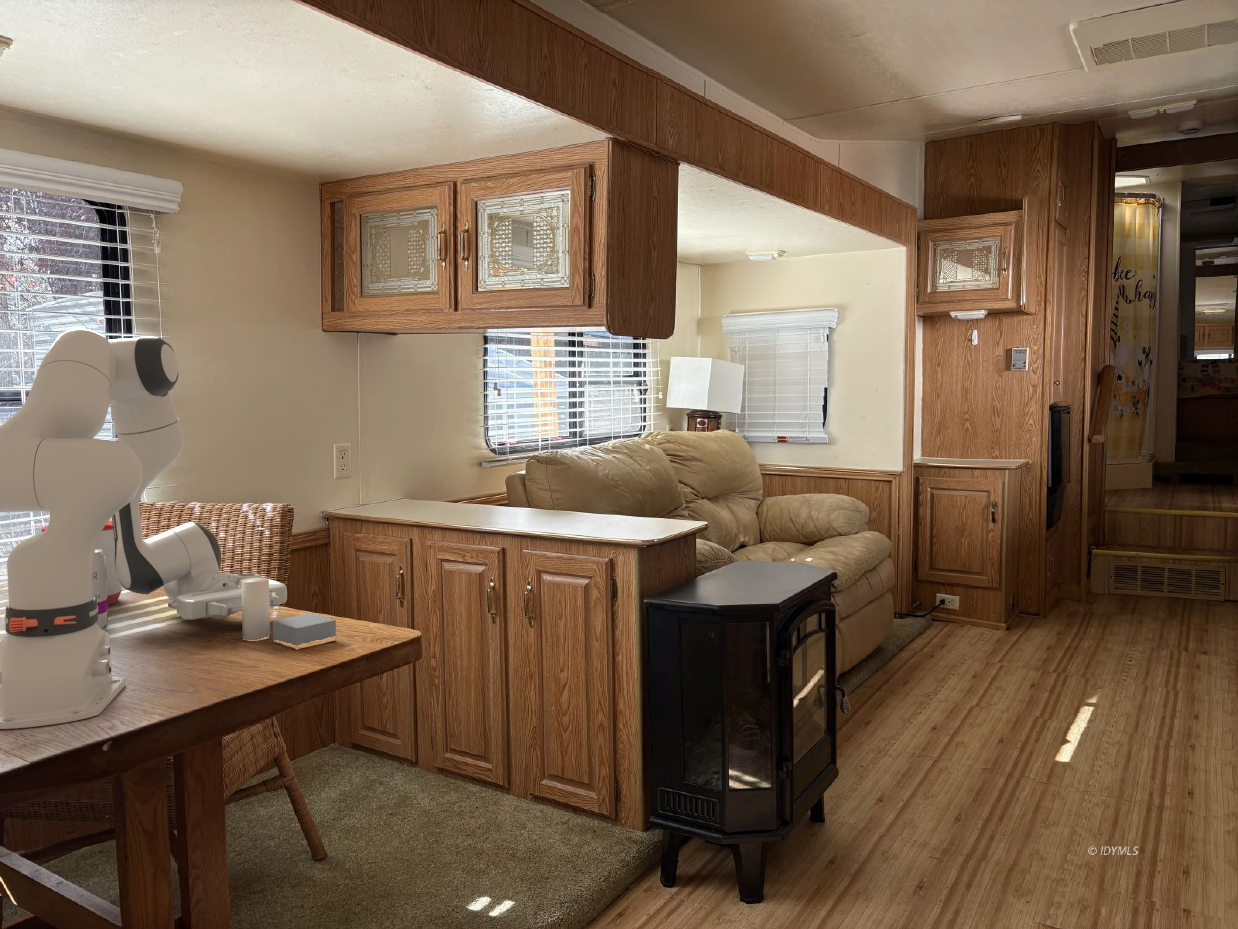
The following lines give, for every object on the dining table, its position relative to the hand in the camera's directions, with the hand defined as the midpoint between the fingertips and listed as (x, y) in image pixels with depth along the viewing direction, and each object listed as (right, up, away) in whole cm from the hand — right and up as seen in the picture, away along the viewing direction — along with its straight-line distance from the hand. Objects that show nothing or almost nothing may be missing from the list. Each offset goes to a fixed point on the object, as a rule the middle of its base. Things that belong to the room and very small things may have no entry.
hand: (253, 606), depth 175 cm
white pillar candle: (+1, -6, 0) cm, 6 cm away
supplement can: (-35, -5, +6) cm, 36 cm away
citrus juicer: (-46, -4, +25) cm, 52 cm away
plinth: (+10, -6, -2) cm, 12 cm away
